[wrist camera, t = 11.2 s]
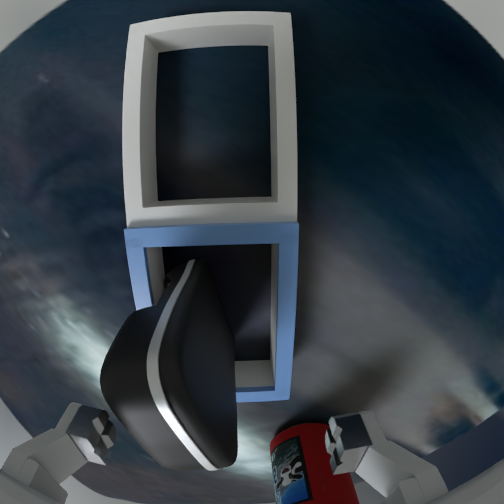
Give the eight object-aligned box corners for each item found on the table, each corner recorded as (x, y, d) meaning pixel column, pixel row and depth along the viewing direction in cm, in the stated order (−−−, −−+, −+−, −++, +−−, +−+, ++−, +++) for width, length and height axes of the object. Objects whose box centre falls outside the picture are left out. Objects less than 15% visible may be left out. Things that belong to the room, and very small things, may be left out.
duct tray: (283, 34, 14) (292, 8, 11) (282, 368, 21) (289, 399, 17) (144, 43, 14) (127, 21, 10) (168, 369, 20) (159, 399, 17)
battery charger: (151, 267, 18) (69, 381, 7) (204, 252, 18) (168, 370, 7) (187, 352, 20) (162, 485, 9) (236, 341, 20) (242, 480, 9)
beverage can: (266, 422, 23) (280, 535, 11) (337, 411, 23) (374, 514, 11) (270, 456, 25) (281, 549, 13) (330, 446, 25) (356, 534, 13)
